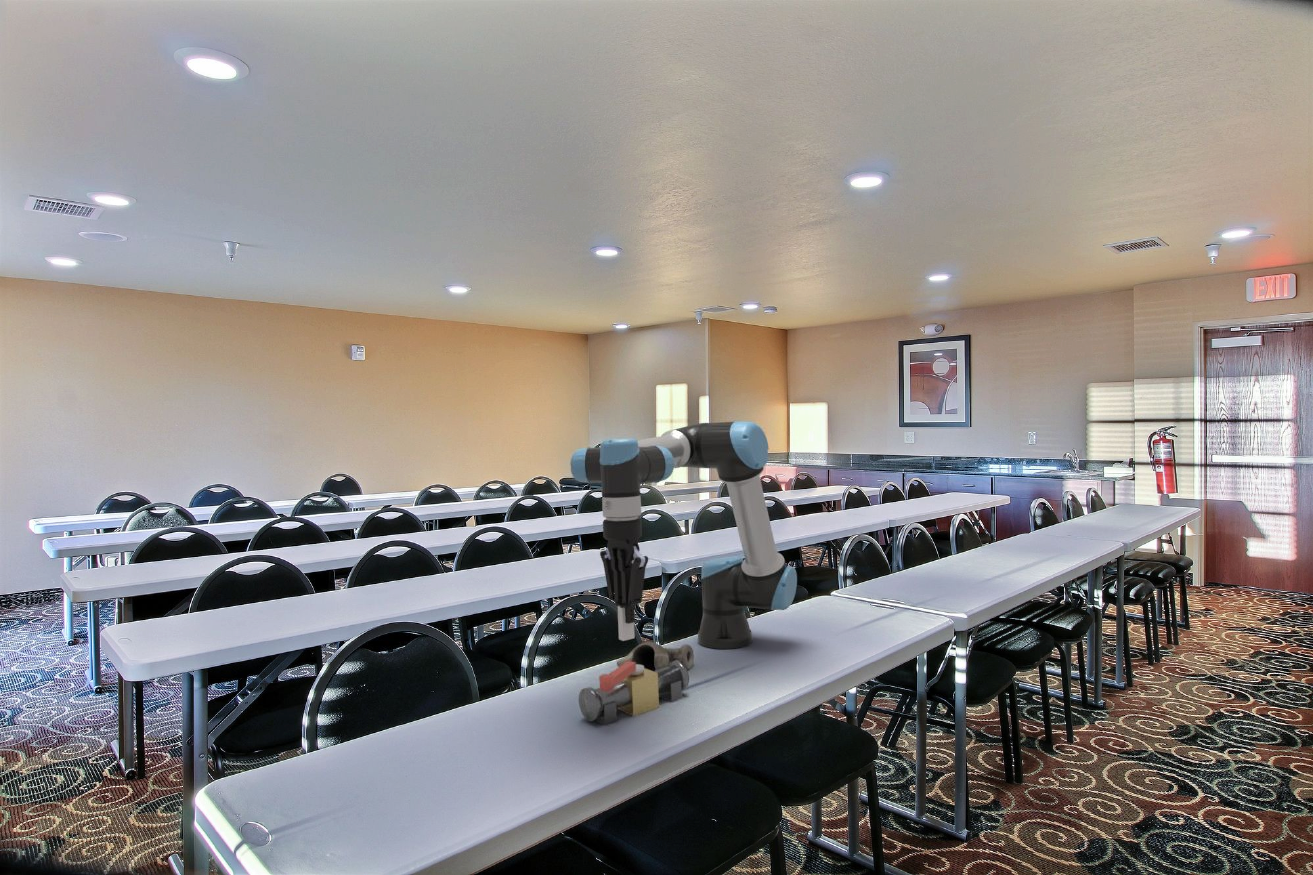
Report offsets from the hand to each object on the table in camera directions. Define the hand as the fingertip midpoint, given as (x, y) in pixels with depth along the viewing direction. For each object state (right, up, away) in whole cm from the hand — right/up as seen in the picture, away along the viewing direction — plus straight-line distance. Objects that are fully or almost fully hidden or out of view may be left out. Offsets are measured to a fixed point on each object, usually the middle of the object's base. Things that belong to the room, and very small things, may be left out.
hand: (626, 638), depth 146 cm
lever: (-1, -12, +12) cm, 17 cm away
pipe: (+6, -19, +40) cm, 45 cm away
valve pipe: (+1, -20, +18) cm, 26 cm away
